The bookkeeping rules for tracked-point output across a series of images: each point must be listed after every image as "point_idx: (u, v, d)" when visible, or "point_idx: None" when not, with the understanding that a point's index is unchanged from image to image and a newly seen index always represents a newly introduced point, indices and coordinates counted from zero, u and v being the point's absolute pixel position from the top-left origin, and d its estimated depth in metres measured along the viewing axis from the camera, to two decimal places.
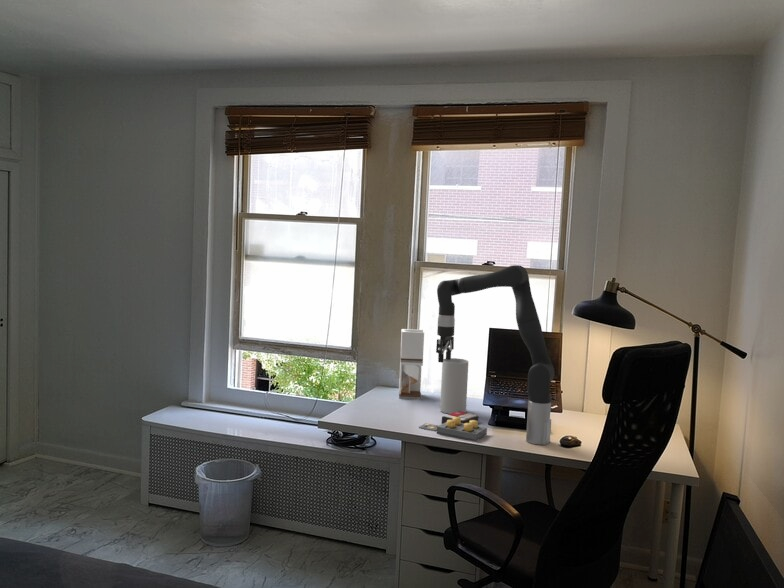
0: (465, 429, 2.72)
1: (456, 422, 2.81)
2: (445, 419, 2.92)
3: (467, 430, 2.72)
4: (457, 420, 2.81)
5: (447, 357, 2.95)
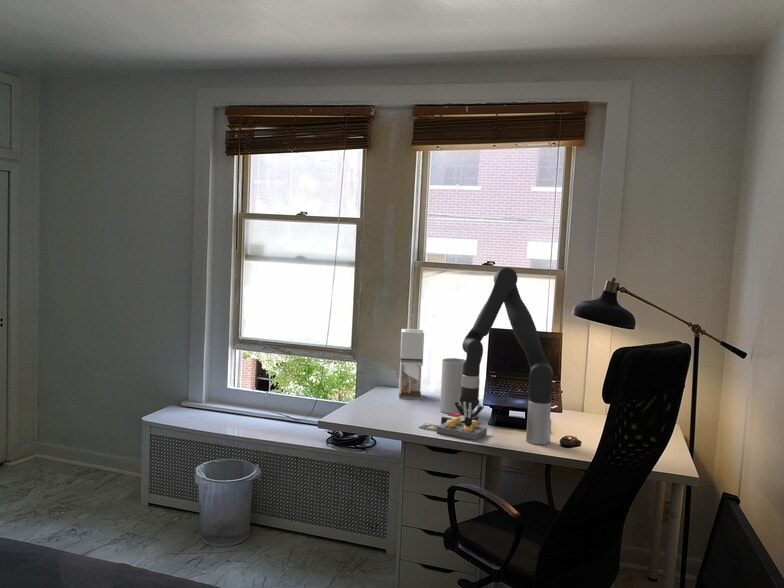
0: None
1: (456, 422, 2.81)
2: (445, 420, 2.91)
3: None
4: (457, 420, 2.81)
5: None
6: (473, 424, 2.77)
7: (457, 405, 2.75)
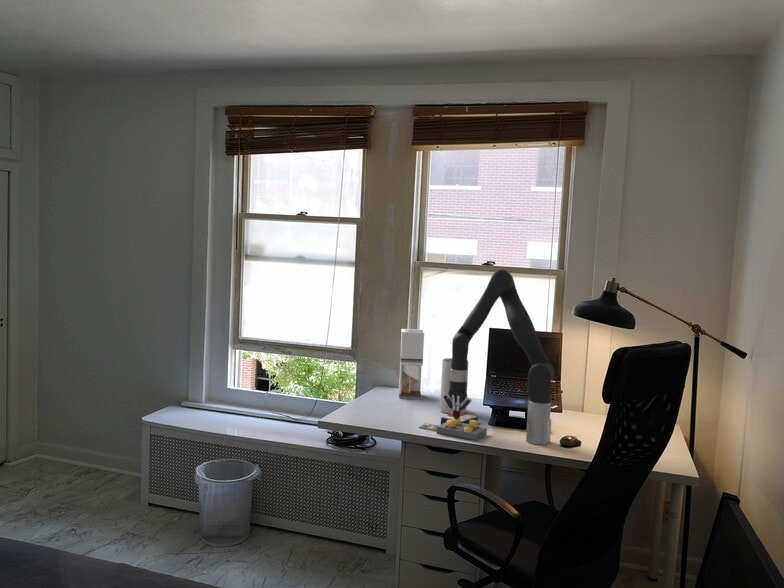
0: None
1: (456, 423, 2.81)
2: (444, 420, 2.90)
3: None
4: (457, 421, 2.81)
5: None
6: (473, 424, 2.77)
7: (446, 398, 2.83)
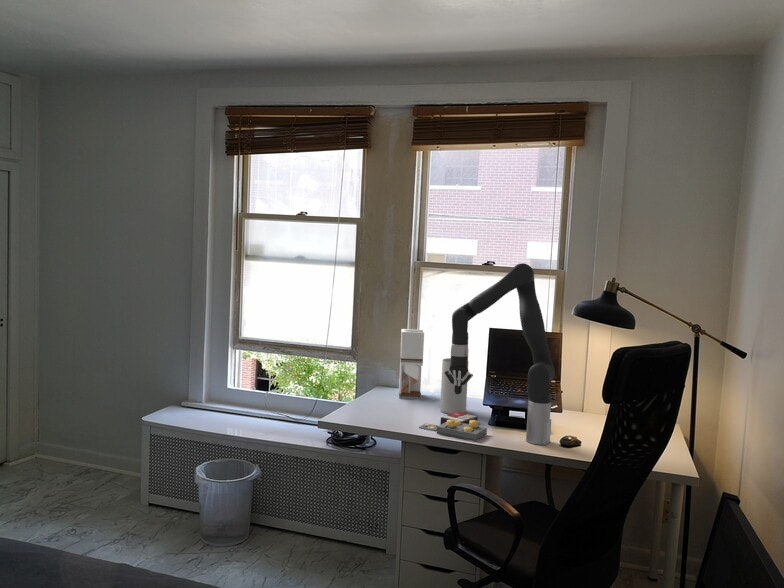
0: None
1: None
2: (444, 420, 2.90)
3: None
4: (457, 424, 2.81)
5: None
6: (473, 424, 2.77)
7: (447, 374, 2.82)
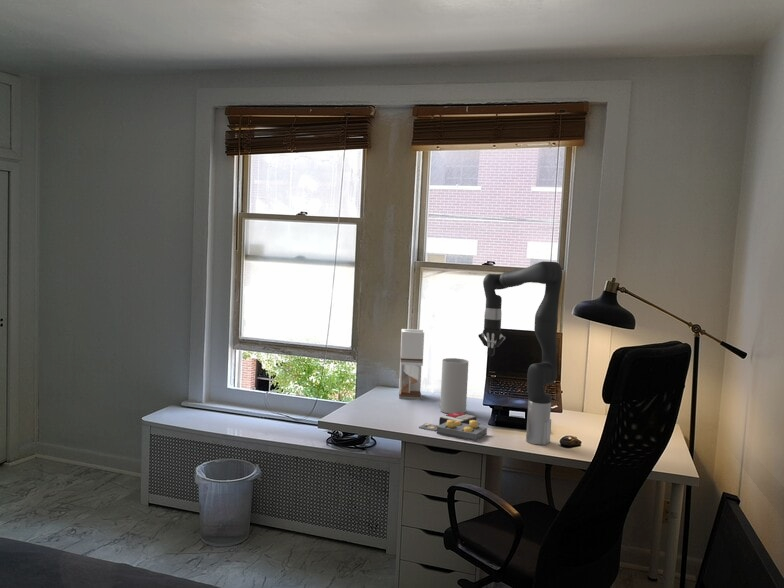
0: None
1: None
2: (443, 420, 2.90)
3: None
4: (457, 424, 2.81)
5: None
6: (473, 424, 2.77)
7: (480, 337, 2.96)
